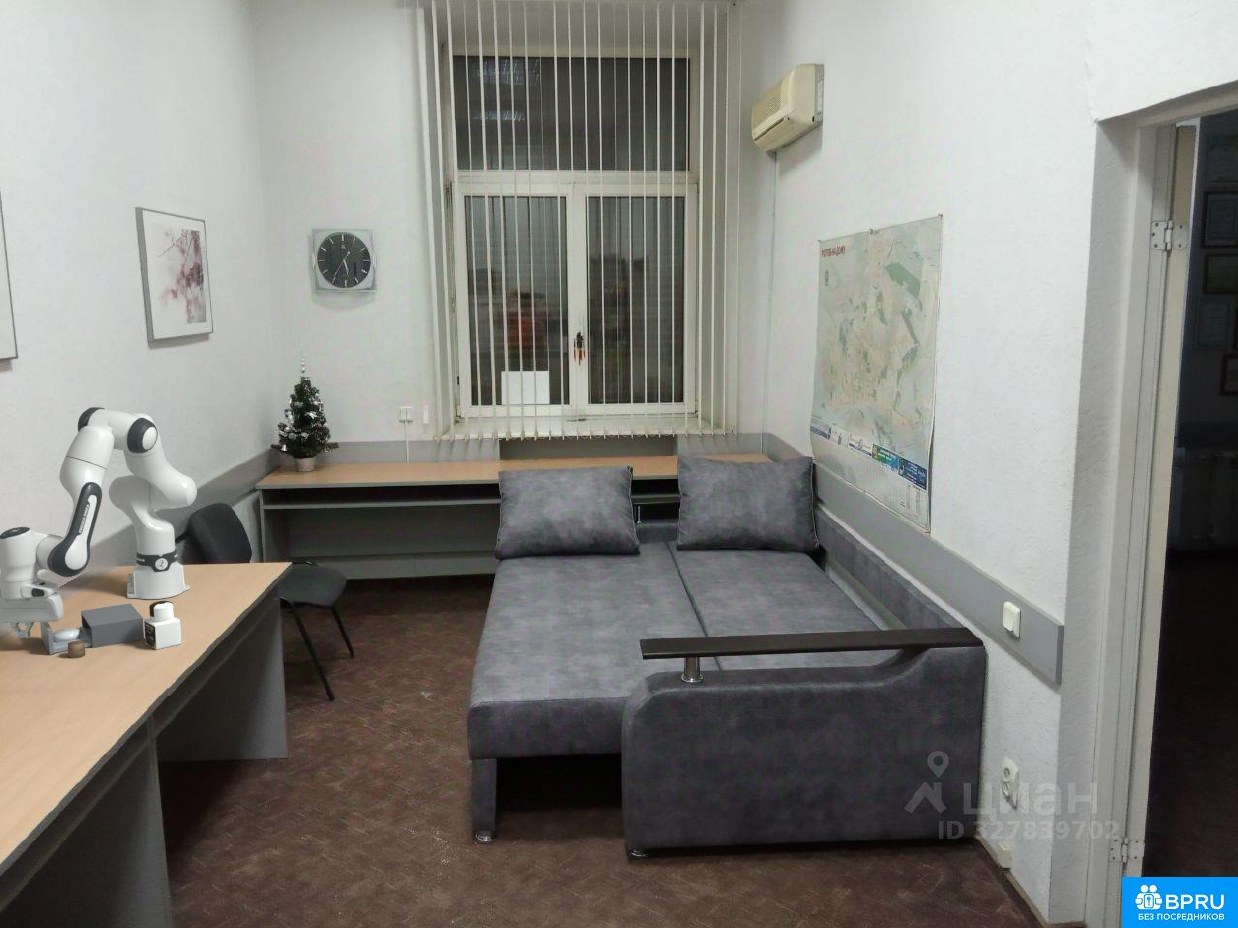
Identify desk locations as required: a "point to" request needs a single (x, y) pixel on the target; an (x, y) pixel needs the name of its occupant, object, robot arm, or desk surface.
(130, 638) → the housing
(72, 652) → the brown rounded piece
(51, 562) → the robot arm
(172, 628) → the medicine bottle
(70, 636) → the disc
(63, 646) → the tray
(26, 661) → the desk surface
